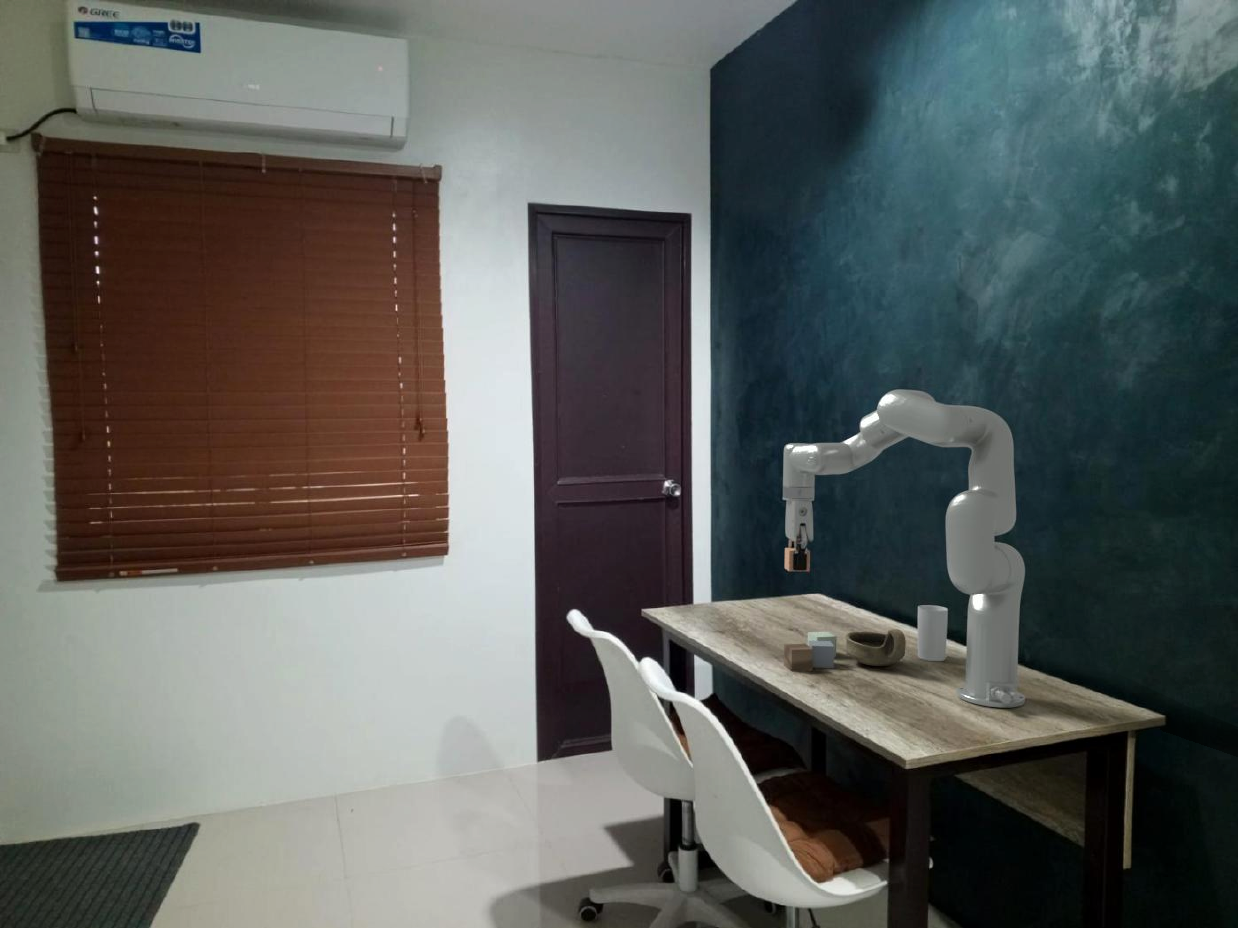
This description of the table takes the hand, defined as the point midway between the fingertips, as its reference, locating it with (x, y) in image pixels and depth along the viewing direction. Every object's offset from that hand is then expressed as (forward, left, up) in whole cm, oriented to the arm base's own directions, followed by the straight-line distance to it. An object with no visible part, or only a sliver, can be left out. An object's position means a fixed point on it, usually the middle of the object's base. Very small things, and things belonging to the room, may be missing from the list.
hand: (797, 567), depth 211 cm
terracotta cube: (0, 0, -1) cm, 1 cm away
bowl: (-14, -16, -21) cm, 30 cm away
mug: (-5, -31, -21) cm, 37 cm away
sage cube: (-4, -5, -20) cm, 22 cm away
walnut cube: (-16, +3, -20) cm, 26 cm away
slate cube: (-13, -3, -20) cm, 24 cm away
